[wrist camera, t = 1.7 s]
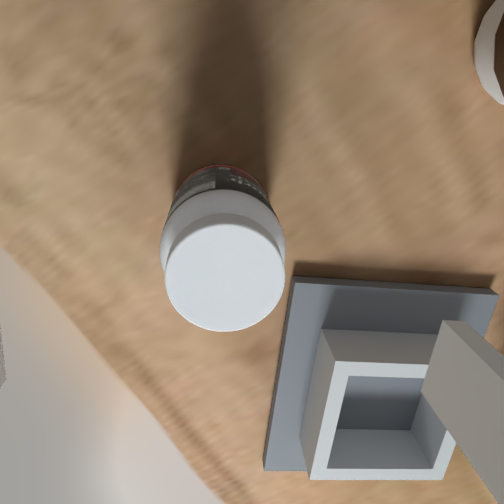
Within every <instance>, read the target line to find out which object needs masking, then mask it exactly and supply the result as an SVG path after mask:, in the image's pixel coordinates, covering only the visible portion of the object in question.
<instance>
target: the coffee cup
mask: <svg viewBox="0 0 504 504" xmlns="http://www.w3.org/2000/svg"><path fill="white" fill-rule="evenodd" d="M474 67H475V69H476V72H477V75H478V77H479V80H480V83H481V85H482V87H483V88H484V90H486V91H487V92H488V93H489V94H490V95H491V96H492V97H493V98H494V99H495V100H496V101H497V102H499V103H500V104H503V105H504V0H496V1H495V2H494V3H493V4H492V6H491V7H490V8H489V10H488V11H487V12H486V14H485V15H484V17H483V19H482V22H481V25H480V27H479V30H478V33H477V36H476V38H475V41H474Z"/></svg>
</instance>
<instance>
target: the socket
mask: <svg viewBox="0 0 504 504" xmlns="http://www.w3.org/2000/svg"><path fill="white" fill-rule="evenodd" d="M498 298H499V295H498V294H497V293H495V292H494V291H493V290H491V289H488V288H473V287H457V286H442V285H426V284H411V283H395V282H380V281H364V280H348V279H333V278H317V277H302V276H292V281H291V287H290V293H289V299H288V305H287V312H286V318H285V324H284V330H283V336H282V343H281V349H280V355H279V361H278V367H277V374H276V380H275V386H274V392H273V398H272V405H271V411H270V417H269V423H268V429H267V436H266V442H265V448H264V454H263V467H264V471H307V472H308V476H309V480H442V479H443V477H444V474H445V471H446V469H447V466H448V463H449V461H450V458H451V455H452V453H453V450H454V447H455V445H456V442H455V440H454V439H453V437H452V436H451V435H450V433H449V432H448V430H447V429H446V427H445V426H444V425H443V423H442V422H441V420H440V419H439V417H438V416H437V414H436V413H435V412H434V410H433V409H432V407H431V406H430V404H429V403H428V402H427V400H426V399H425V397H424V396H423V394H422V393H421V388H422V385H423V382H424V379H425V375H426V372H427V369H428V366H429V362H430V359H431V356H432V353H433V349H434V346H435V343H436V340H437V336H438V333H439V330H440V327H441V323H442V320H451V321H465V322H467V323H468V324H469V325H470V326H471V327H472V328H473V329H474V330H475V331H476V332H477V333H479V334H480V335H481V336H482V337H483V338H484V336H485V333H486V331H487V328H488V325H489V322H490V320H491V317H492V314H493V311H494V309H495V306H496V303H497V300H498Z"/></svg>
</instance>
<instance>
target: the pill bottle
mask: <svg viewBox="0 0 504 504" xmlns="http://www.w3.org/2000/svg"><path fill="white" fill-rule="evenodd" d="M285 256H286V244H285V238H284V234H283V230H282V228H281V225H280V223H279V220H278V218H277V216H276V214H275V212H274V210H273V209H272V207H271V204H270V202H269V200H268V198H267V196H266V194H265V192H264V190H263V188H262V187H261V185H260V184H259V183H258V182H257V181H256V179H255V178H254V177H252V176H251V175H250V174H248V173H247V172H245V171H243V170H241V169H239V168H236V167H233V166H228V165H212V166H207V167H204V168H201V169H199V170H197V171H195V172H194V173H192V174H191V175H190V176H188V177H187V178H186V179H185V180H184V181H183V183H182V184H181V185H180V187H179V188H178V190H177V192H176V194H175V196H174V199H173V202H172V205H171V208H170V211H169V214H168V217H167V220H166V223H165V226H164V229H163V232H162V236H161V242H160V259H161V264H162V268H163V271H164V273H165V287H166V291H167V294H168V297H169V299H170V301H171V303H172V304H173V306H174V307H175V309H176V310H177V311H178V312H179V313H180V314H181V315H182V316H183V317H184V318H185V319H187V320H188V321H189V322H191V323H193V324H195V325H197V326H199V327H201V328H204V329H208V330H212V331H220V332H223V331H236V330H241V329H244V328H247V327H249V326H252V325H254V324H256V323H258V322H259V321H260V320H262V319H264V318H265V317H266V316H267V315H268V314H269V313H270V312H271V311H272V310H273V309H274V307H275V306H276V304H277V303H278V301H279V299H280V297H281V295H282V292H283V289H284V284H285V267H284V262H285Z"/></svg>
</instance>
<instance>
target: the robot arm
mask: <svg viewBox="0 0 504 504" xmlns="http://www.w3.org/2000/svg"><path fill="white" fill-rule="evenodd" d="M5 380H6V373H5V363H4V355H3V346H2V337H1V328H0V387H1V386H2V385H3V383H4V382H5ZM421 393H422V394H423V396H424V397H425V399H426V400H427V402H428V403H429V404H430V406H431V407H432V409H433V410H434V412H435V413H436V414H437V416H438V417H439V419H440V420H441V422H442V423H443V425H444V426H445V427H446V429H447V430H448V432H449V433H450V435H451V436H452V437H453V439H454V440H455V442H456V443H457V445H458V446H459V448H460V449H461V450H462V452H463V453H464V455H465V456H466V458H467V459H468V460H469V462H470V463H471V465H472V466H473V468H474V469H475V471H476V472H477V473H478V475H479V476H480V478H481V479H482V481H483V482H484V483H485V485H486V486H487V488H488V489H489V491H490V492H491V494H492V495H493V496H494V498H495V499H496V501H497V502H498V504H504V356H503V355H502V354H500V353H499V352H498V351H497V350H496V349H495V348H494V347H493V346H492V345H491V344H490V343H488V342H487V341H486V340H485V339H484V338H483V337H482V336H481V335H480V334H479V333H477V332H476V331H475V330H474V329H473V328H472V327H471V326H470V325H469V324H468V323H467V322H465V321H451V320H442V323H441V327H440V330H439V333H438V336H437V340H436V343H435V346H434V349H433V353H432V356H431V359H430V362H429V366H428V369H427V372H426V375H425V379H424V382H423V385H422V388H421Z"/></svg>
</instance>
